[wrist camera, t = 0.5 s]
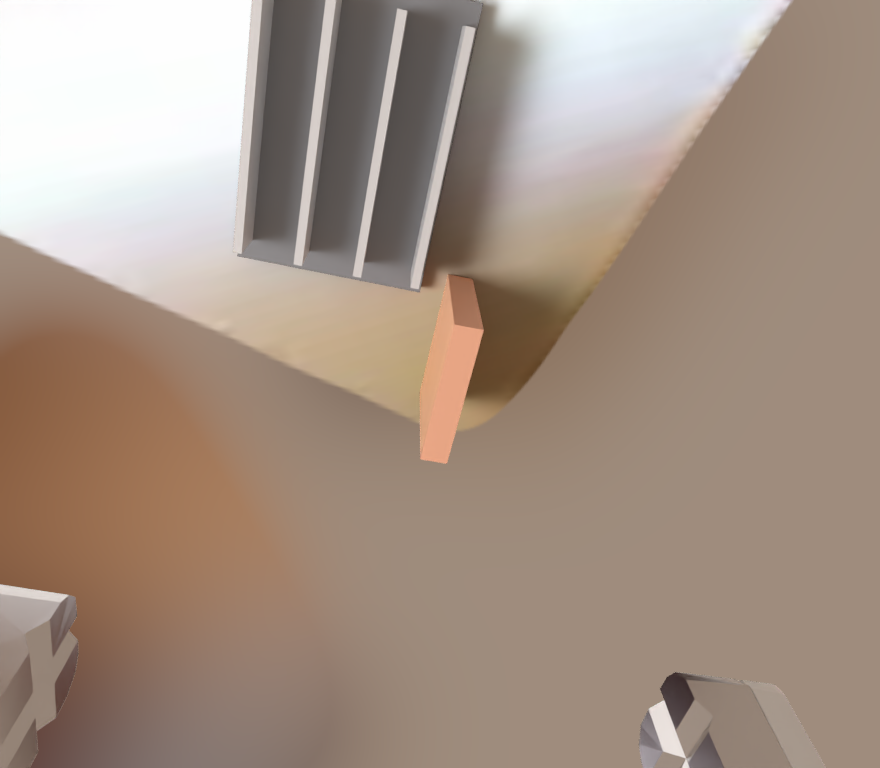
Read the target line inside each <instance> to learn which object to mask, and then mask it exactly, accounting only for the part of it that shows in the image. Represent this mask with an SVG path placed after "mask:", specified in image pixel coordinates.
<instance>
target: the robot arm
mask: <svg viewBox="0 0 880 768" xmlns="http://www.w3.org/2000/svg"><path fill="white" fill-rule="evenodd" d="M76 617H77V610H76V599H75V597H73V596H70V595H64V594H58V593H52V592H45V591H38V590H32V589H25V588H19V587H13V586H7V585H0V768H30V766H31V764H32V763H33V761H34V759H35V757H36V755H37V753H38V744H37V731H38V730H39V729H40V728H42V727H43V726H44V725H46V724H48V723H49V722H51V721H52V720H53V719H55V718H56V717H57V715H58V713H59V711H60V709H61V707H62V705H63V703H64V701H65V699H66V697H67V695H68V692H69V689H70V686H71V683H72V681H73V678H74V675H75V672H76V666H77V659H78V640H77V639H76V638H75V637H74V636H73V635H72V633H71V632H70V631H69V629H70V627H71V626H72V624H73V622H74V620H75V619H76ZM660 690H661V693H662V695H663V698H664V700H663V701H662V702H660V703H658V704H656V705H655V706H653V707H651V708H650V709H649V710H648V712H647V713H646V716H645V718H644V719H643V722H642V724H641V729H640V739H639V749H640V756H641V763H642V766H643V768H826V767H825V765H824V763H823V761H822V760H821V758H820V756H819V754H818V753H817V751H816V749H815V747H814V746H813V744H812V742H811V740H810V739H809V737H808V735H807V733H806V731H805V730H804V728H803V726H802V724H801V723H800V721H799V719H798V717H797V716H796V714H795V712H794V711H793V709H792V707H791V706H790V703H789V702H788V700H787V698H786V696H785V695H784V694H783V692H782V691H781V690H780V689H779V688H778V687H776V686H775V685H774V684H767V683H759V682H751V681H743V680H739V681H738V680H736V679H731V678H722V677H712V676H703V675H696V674H687V673H678V672H675V673H673V674H671V675H669V676H668V677H667V678H666V680H665V681H664V683H663V685H662V686H661V688H660Z"/></svg>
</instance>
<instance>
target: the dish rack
mask: <svg viewBox="0 0 880 768" xmlns="http://www.w3.org/2000/svg"><path fill="white" fill-rule="evenodd" d="M482 6H483V3H479V2H475V1H471V0H252V6H251V19H250V32H249V46H248V59H247V72H246V85H245V98H244V112H243V125H242V138H241V151H240V165H239V178H238V191H237V204H236V217H235V231H234V244H233V252H234V253H238V255H237V256H239V257H244V258H249V259H254V260H259V261H264V262H269V263H275V264H280V265H285V266H290V267H295V268H300V269H305V270H310V271H315V272H320V273H325V274H330V275H335V276H340V277H345V278H350V279H355V280H360V281H365V282H370V283H375V284H380V285H385V286H390V287H395V288H400V289H405V290H410V291H415V292H420V288H421V284H422V279H423V274H424V270H425V265H426V261H427V256H428V252H429V247H430V243H431V238H432V234H433V229H434V224H435V220H436V215H437V211H438V206H439V202H440V197H441V193H442V188H443V184H444V179H445V174H446V170H447V165H448V161H449V156H450V152H451V147H452V143H453V138H454V134H455V129H456V125H457V120H458V115H459V111H460V106H461V102H462V97H463V93H464V88H465V84H466V79H467V75H468V70H469V65H470V61H471V56H472V52H473V47H474V43H475V38H476V34H477V29H478V25H479V20H480V15H481V11H482Z"/></svg>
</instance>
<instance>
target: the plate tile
mask: <svg viewBox="0 0 880 768" xmlns="http://www.w3.org/2000/svg"><path fill="white" fill-rule="evenodd" d="M483 331H484V329H483V324H482V320H481V315H480V311H479V306H478V301H477V297H476V292H475V288H474V283H473V279H470V278H465V277H460V276H455V275H450V274H448V277H447V281H446V285H445V289H444V293H443V298H442V302H441V306H440V310H439V314H438V319H437V323H436V327H435V331H434V335H433V340H432V344H431V348H430V352H429V356H428V361H427V365H426V369H425V373H424V377H423V382H422V386H421V390H420V459H422V460H427V461H433V462H439V463H446V464H447V461H448V458H449V454H450V450H451V447H452V443H453V440H454V436H455V432H456V429H457V425H458V421H459V418H460V414H461V411H462V407H463V403H464V400H465V396H466V393H467V389H468V385H469V382H470V378H471V375H472V371H473V367H474V364H475V360H476V356H477V353H478V349H479V346H480V342H481V338H482V335H483Z"/></svg>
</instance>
